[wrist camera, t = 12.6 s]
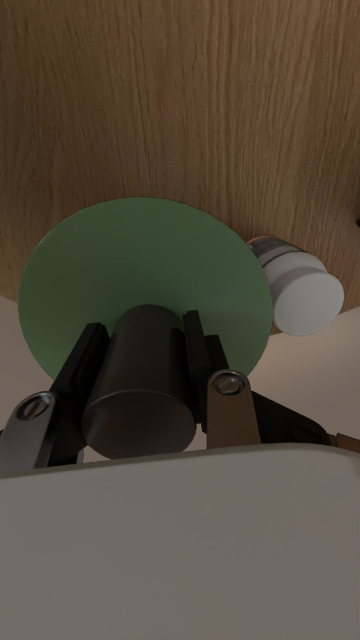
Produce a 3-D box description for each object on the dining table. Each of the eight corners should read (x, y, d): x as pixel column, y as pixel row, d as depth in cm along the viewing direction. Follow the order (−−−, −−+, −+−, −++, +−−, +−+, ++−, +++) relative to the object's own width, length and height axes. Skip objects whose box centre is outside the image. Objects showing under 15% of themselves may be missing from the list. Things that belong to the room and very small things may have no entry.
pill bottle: (292, 275, 25) (358, 323, 16) (241, 298, 26) (277, 354, 18) (278, 223, 22) (349, 248, 14) (222, 251, 23) (255, 290, 15)
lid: (-23, 305, 12) (-193, 415, 6) (172, 119, 9) (182, 2, 3) (140, 426, 18) (128, 547, 12) (300, 338, 14) (393, 444, 8)
